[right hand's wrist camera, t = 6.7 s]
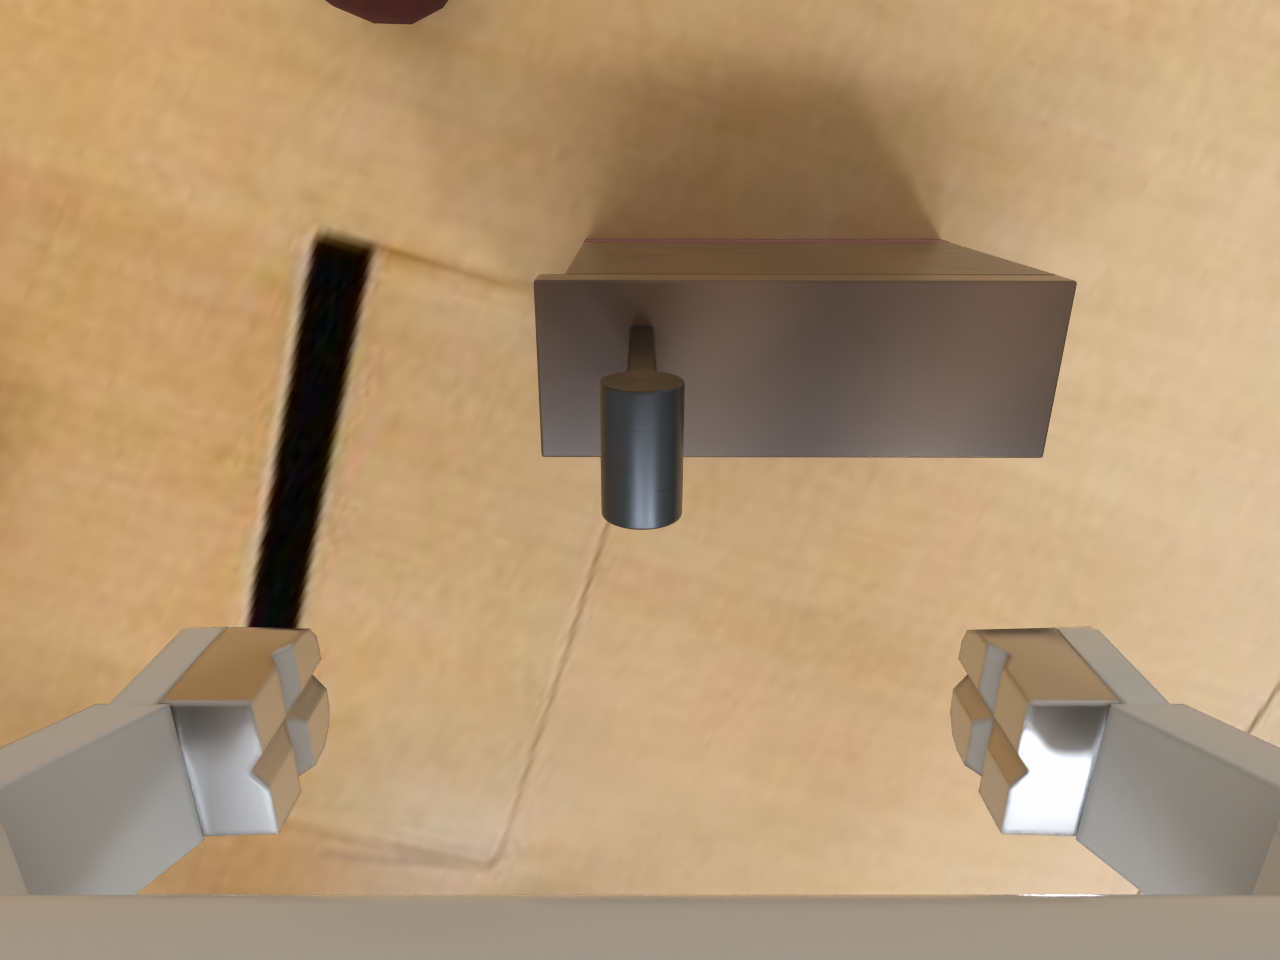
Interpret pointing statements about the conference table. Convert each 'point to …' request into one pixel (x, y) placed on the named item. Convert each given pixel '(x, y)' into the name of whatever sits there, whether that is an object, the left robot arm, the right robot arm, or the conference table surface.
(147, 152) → the conference table surface
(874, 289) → the lid
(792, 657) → the conference table surface
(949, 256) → the chest
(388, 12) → the potato
